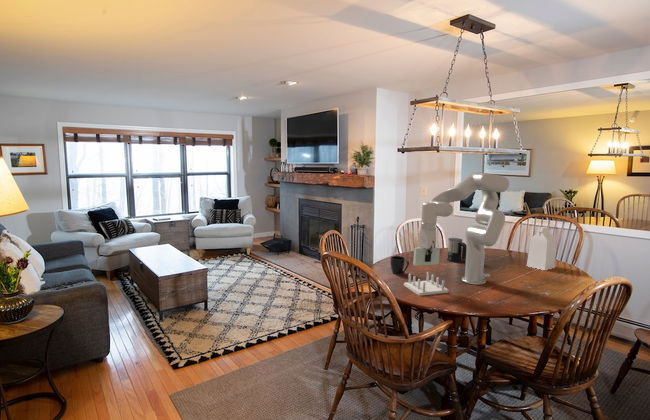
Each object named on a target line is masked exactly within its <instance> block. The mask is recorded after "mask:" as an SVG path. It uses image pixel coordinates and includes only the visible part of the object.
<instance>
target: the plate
mask: <svg viewBox="0 0 650 420" xmlns="http://www.w3.org/2000/svg"><path fill="white" fill-rule="evenodd" d="M413 249H414V250H413V261H412V265H413V266H417V267H418V266H432V265H433V266H434V265H440V256H441V255H440V254H441V252H440V251H441V247H440V246H436V248H435V252H432V254H431V262H425V254H426V249H425V248H423V247H420V246H419V247H414V248H413ZM428 251H429V250H428Z"/></svg>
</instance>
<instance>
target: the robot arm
mask: <svg viewBox="0 0 650 420" xmlns="http://www.w3.org/2000/svg"><path fill="white" fill-rule="evenodd" d="M509 188H510V180H509V179H508V178H507V177H506V176H502V175H498V174H493V173H487V172H471V173H469V174H468V175H467V176H466V177H464V179H462V180H461V181H460V182H459V183H458V184H456V185H455V186H453V187H451V188H449V189H447V190H444V191H442V192H440V193H438V194H437V195H435V196H434V197H433V198H432V199H431V200H429V201H424V202H423V203H422V206H421V224H420V229H419V234H418V242H417V244H418V246H419V247H423V248H425V249H426V254H425V262H431V254H432V252H435V248H436V247H437V220H438V219H437V218H438V217H443V218H444V217H445V218H446V217H450V216H451V215H452V214H453V211H454V207H453V205H452V204H450V203H454V202H460V201H463V200H466V199H468V197H470V196H471V195H472V194H473V193H474V192H476V191H477V190H479V189H480V191H481V195H482V199H481V201H480V204H479V206H478V209H477V211H476V214H475V217H474V218H475V222H476V223H477V224H479V225H470V226H468V227H467V228H466V231H465V240H466V241H465V242H466V243H465V244H466V245H467V250H466V259H465V265H464V266H465V269H464V276H462V277H461V282H463V283H466V284H470V285H475V286H476V285H478V286H479V285H484V284H486V283H487V280H486V278H490V277H491V275H490V273H484V269H485V267H484V266H485V254H486V251H485V247H493V246H494V245H496V244H497V241H498V240H499V237H500V235H501V233H502V230H503V228H504V225H505V222H506V215H505V214H504V212H503V211H502V210H500V209H497V208H498V205H499V196H498V193H504V192H506V191H507V190H508V189H509ZM480 225H482V226H480ZM485 226H486V227H485ZM484 246H485V247H484ZM428 250H429V251H428Z"/></svg>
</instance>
